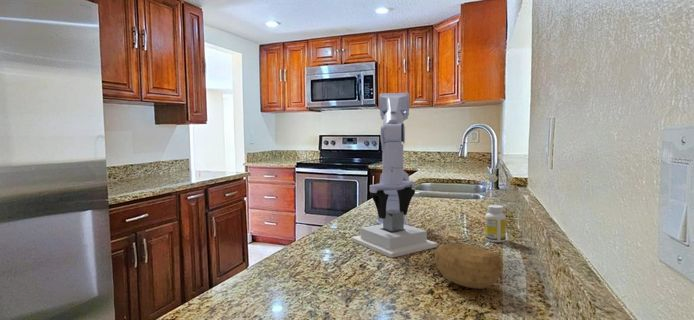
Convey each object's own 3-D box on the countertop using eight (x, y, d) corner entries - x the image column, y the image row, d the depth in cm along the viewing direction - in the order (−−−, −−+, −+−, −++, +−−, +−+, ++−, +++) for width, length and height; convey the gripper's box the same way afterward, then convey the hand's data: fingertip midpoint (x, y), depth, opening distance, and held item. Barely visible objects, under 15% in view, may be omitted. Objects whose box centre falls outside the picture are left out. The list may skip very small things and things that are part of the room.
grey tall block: (383, 239, 103) (383, 211, 102) (394, 237, 105) (394, 209, 104) (392, 243, 99) (392, 213, 99) (403, 240, 101) (403, 212, 101)
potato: (450, 269, 82) (450, 234, 82) (512, 289, 72) (513, 249, 71) (422, 281, 76) (422, 243, 75) (486, 304, 65) (486, 260, 65)
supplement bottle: (502, 237, 107) (502, 204, 106) (508, 243, 101) (509, 208, 101) (482, 237, 107) (483, 204, 107) (488, 242, 102) (488, 208, 101)
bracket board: (351, 240, 105) (351, 226, 105) (394, 232, 114) (394, 219, 114) (391, 257, 90) (391, 242, 90) (437, 246, 99) (437, 232, 99)
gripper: (380, 170, 93) (381, 222, 94) (422, 166, 101) (422, 215, 102) (364, 168, 99) (365, 217, 100) (405, 165, 107) (405, 210, 108)
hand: (392, 216), depth 102 cm, fingers open, 7 cm apart
